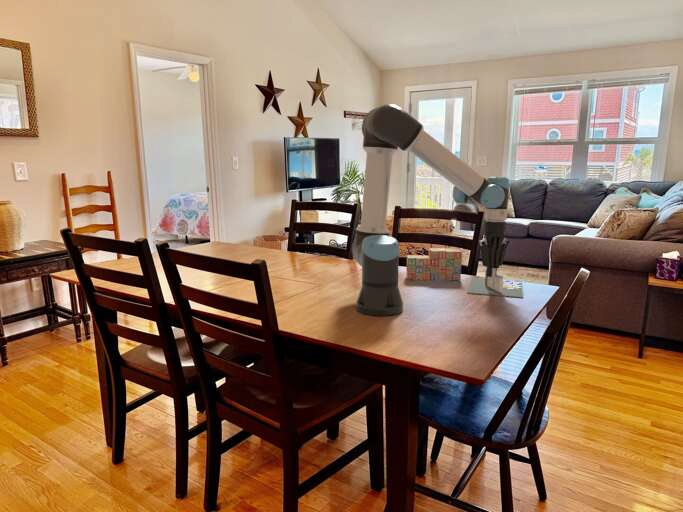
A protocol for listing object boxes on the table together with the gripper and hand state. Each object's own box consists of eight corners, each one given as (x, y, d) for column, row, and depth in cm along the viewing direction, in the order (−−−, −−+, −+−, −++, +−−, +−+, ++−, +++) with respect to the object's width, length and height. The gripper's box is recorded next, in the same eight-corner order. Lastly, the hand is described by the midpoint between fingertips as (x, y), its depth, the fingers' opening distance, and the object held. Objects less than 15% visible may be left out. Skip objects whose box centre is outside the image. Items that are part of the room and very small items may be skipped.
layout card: (522, 298, 167) (523, 296, 167) (467, 293, 173) (467, 292, 173) (521, 282, 188) (521, 281, 188) (471, 278, 194) (471, 277, 194)
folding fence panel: (502, 292, 172) (504, 275, 171) (498, 292, 171) (499, 276, 170) (488, 284, 183) (489, 268, 182) (484, 284, 183) (484, 269, 181)
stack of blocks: (407, 280, 192) (408, 250, 190) (406, 276, 198) (406, 247, 196) (460, 281, 191) (462, 251, 189) (458, 277, 197) (459, 248, 195)
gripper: (489, 222, 164) (484, 289, 167) (516, 221, 169) (511, 286, 173) (474, 220, 170) (470, 284, 174) (501, 219, 176) (496, 282, 179)
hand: (490, 285), depth 173 cm, fingers closed
